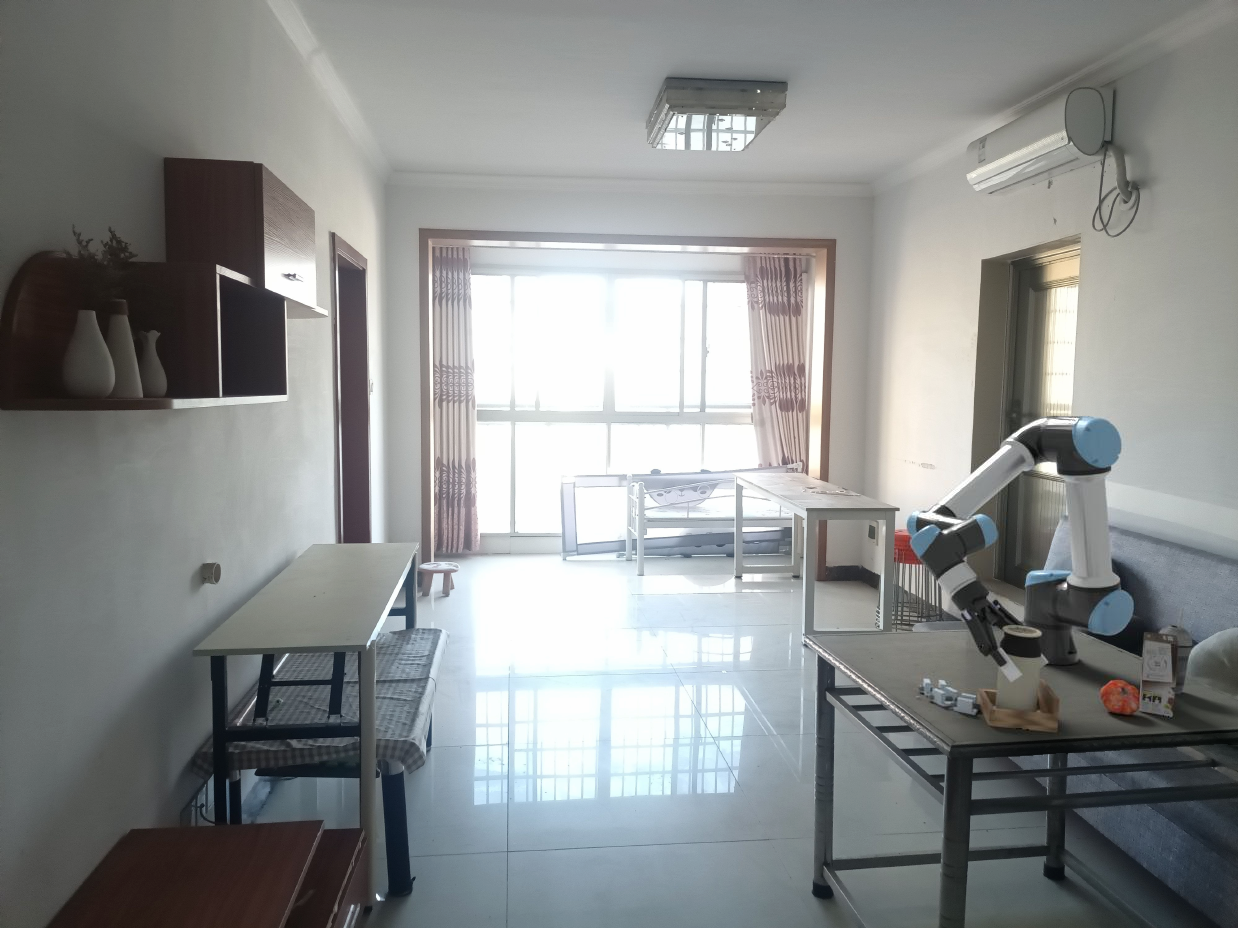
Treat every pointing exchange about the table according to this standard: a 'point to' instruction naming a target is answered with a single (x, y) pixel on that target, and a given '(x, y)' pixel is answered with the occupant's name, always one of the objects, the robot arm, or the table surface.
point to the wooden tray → (1022, 719)
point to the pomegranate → (1120, 697)
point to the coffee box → (1158, 673)
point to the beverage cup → (1180, 651)
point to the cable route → (950, 697)
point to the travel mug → (1020, 669)
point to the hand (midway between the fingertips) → (1030, 672)
